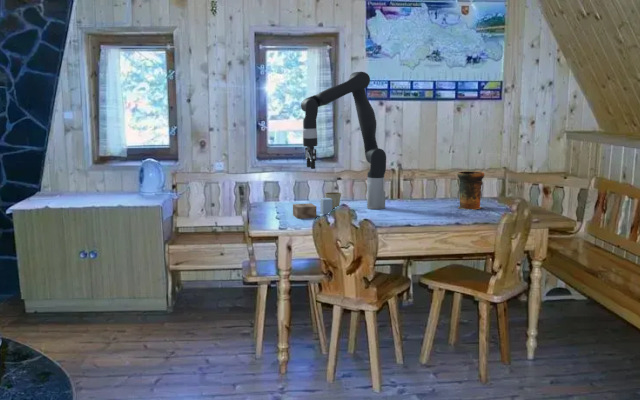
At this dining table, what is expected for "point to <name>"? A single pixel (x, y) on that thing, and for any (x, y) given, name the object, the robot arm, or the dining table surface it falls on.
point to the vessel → (470, 189)
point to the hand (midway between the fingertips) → (310, 168)
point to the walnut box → (304, 210)
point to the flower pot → (334, 198)
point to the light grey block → (325, 205)
